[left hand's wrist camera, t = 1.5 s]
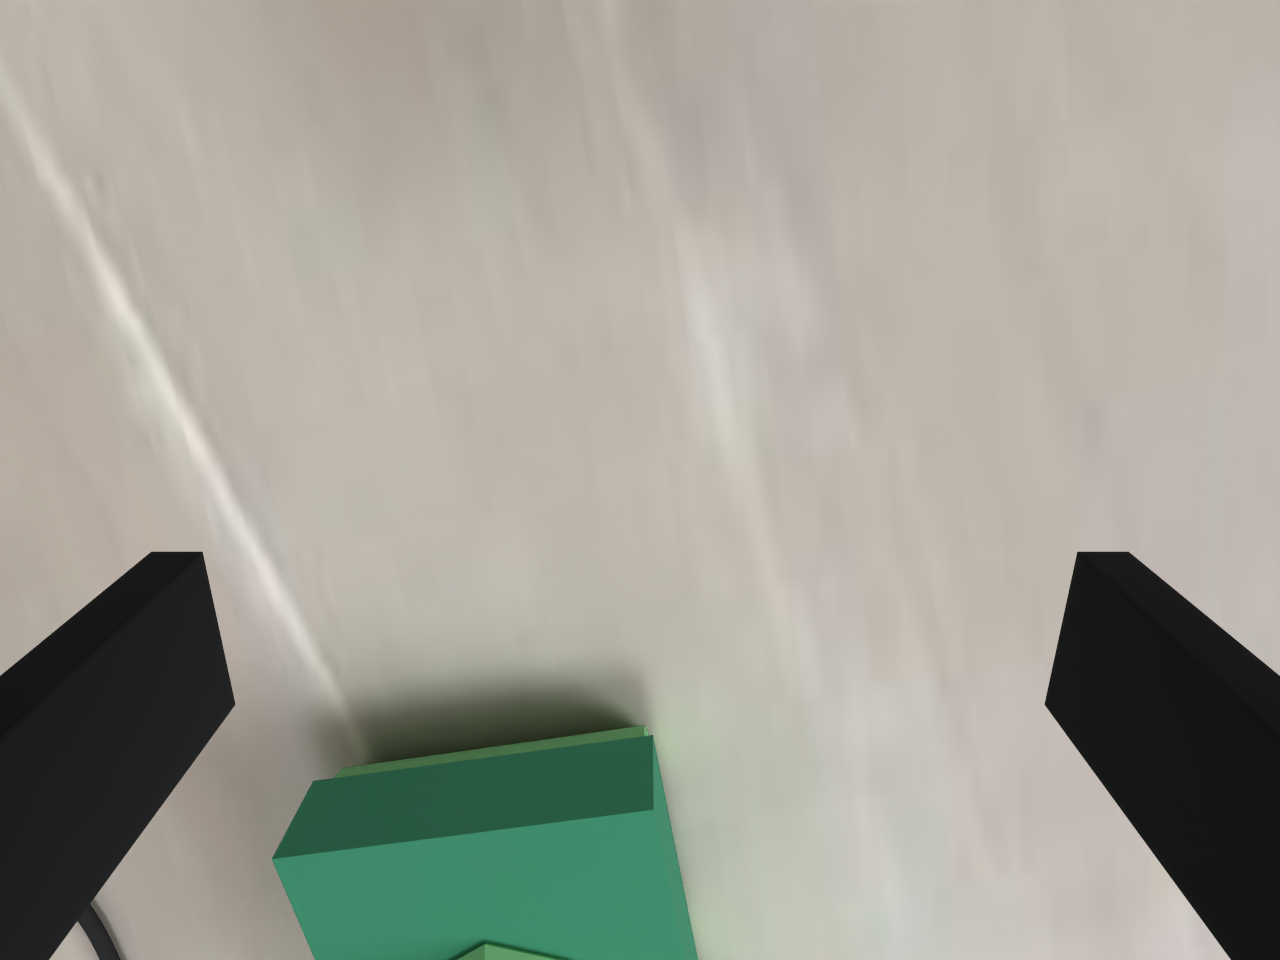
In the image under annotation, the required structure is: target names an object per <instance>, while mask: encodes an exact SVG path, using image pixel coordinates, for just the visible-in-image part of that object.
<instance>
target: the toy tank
mask: <svg viewBox="0 0 1280 960" xmlns="http://www.w3.org/2000/svg"><path fill="white" fill-rule="evenodd" d="M272 861H273V863H274V865H275V868H276V870H277V872H278V875H279V877H280V879H281V882H282V884H283V886H284V889H285V891H286V893H287V896H288V898H289V900H290V903H291V905H292V907H293V909H294V912H295V914H296V916H297V919H298V921H299V923H300V926H301V928H302V930H303V933H304V935H305V937H306V940H307V942H308V944H309V947H310V949H311V951H312V954H313V956H314V958H315V960H698V958H697V953H696V948H695V943H694V938H693V933H692V928H691V923H690V918H689V913H688V908H687V903H686V898H685V893H684V888H683V883H682V878H681V873H680V868H679V863H678V858H677V853H676V848H675V843H674V838H673V833H672V828H671V823H670V818H669V813H668V808H667V803H666V798H665V793H664V788H663V783H662V778H661V773H660V768H659V764H658V759H657V754H656V749H655V744H654V739H653V735H650V736H649V734H648V731H647V728H646V726H645V725H644V726H637V727H630V728H623V729H616V730H608V731H601V732H594V733H587V734H580V735H573V736H566V737H559V738H552V739H545V740H537V741H530V742H523V743H516V744H509V745H502V746H495V747H488V748H481V749H474V750H467V751H459V752H452V753H445V754H438V755H431V756H424V757H417V758H410V759H403V760H396V761H389V762H381V763H374V764H367V765H360V766H353V767H346V768H344V769H343V770H341V771H340V772H338V773H337V775H336V776H335V778H332V779H325V780H317V781H313V783H312V785H311V786H310V788H309V790H308V792H307V794H306V796H305V798H304V800H303V801H302V803H301V805H300V807H299V809H298V811H297V813H296V815H295V817H294V818H293V820H292V822H291V824H290V826H289V828H288V830H287V832H286V833H285V835H284V837H283V839H282V841H281V843H280V845H279V847H278V849H277V850H276V852H275V854H274V856H273V858H272Z"/></svg>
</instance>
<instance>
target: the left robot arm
mask: <svg viewBox="0 0 1280 960" xmlns="http://www.w3.org/2000/svg"><path fill="white" fill-rule="evenodd" d="M234 706H235V701H234V696H233V691H232V687H231V682H230V677H229V673H228V668H227V664H226V659H225V654H224V650H223V645H222V640H221V636H220V631H219V626H218V622H217V617H216V612H215V608H214V603H213V598H212V594H211V589H210V584H209V580H208V575H207V571H206V566H205V561H204V557H203V552H151V553H149V554H148V555H147V556H146V557H145V558H143V559H142V560H141V561H140V562H138V563H137V564H136V565H135V566H134V567H132V568H131V569H130V570H129V571H128V572H126V573H125V574H124V575H123V576H121V577H120V578H119V579H118V580H117V581H115V582H114V583H113V584H112V585H110V586H109V587H108V588H107V589H106V590H104V591H103V592H102V593H101V594H99V595H98V596H97V597H96V598H95V599H93V600H92V601H91V602H90V603H89V604H87V605H86V606H85V607H84V608H82V609H81V610H80V611H79V612H78V613H76V614H75V615H74V616H73V617H71V618H70V619H69V620H68V621H67V622H65V623H64V624H63V625H62V626H61V627H59V628H58V629H57V630H56V631H54V632H53V633H52V634H51V635H50V636H48V637H47V638H46V639H45V640H43V641H42V642H41V643H40V644H39V645H37V646H36V647H35V648H34V649H33V650H31V651H30V652H29V653H28V654H26V655H25V656H24V657H23V658H22V659H20V660H19V661H18V662H17V663H15V664H14V665H13V666H12V667H11V668H9V669H8V670H7V671H6V672H5V673H3V674H2V675H1V676H0V960H49V959H50V958H51V956H52V955H53V953H54V952H55V951H56V949H57V948H58V947H59V945H60V944H61V942H62V941H63V940H64V938H65V937H66V936H67V934H68V933H69V932H70V930H71V929H72V927H73V926H74V925H75V923H76V922H77V921H78V919H79V918H80V916H81V915H82V914H83V912H84V911H85V910H86V908H87V907H88V906H89V904H90V903H91V901H92V900H93V899H94V897H95V896H96V895H97V893H98V892H99V890H100V889H101V888H102V886H103V885H104V884H105V882H106V881H107V880H108V878H109V877H110V875H111V874H112V873H113V871H114V870H115V869H116V867H117V866H118V864H119V863H120V862H121V860H122V859H123V858H124V856H125V855H126V854H127V852H128V851H129V849H130V848H131V847H132V845H133V844H134V843H135V841H136V840H137V838H138V837H139V836H140V834H141V833H142V832H143V830H144V829H145V828H146V826H147V825H148V823H149V822H150V821H151V819H152V818H153V817H154V815H155V814H156V812H157V811H158V810H159V808H160V807H161V806H162V804H163V803H164V802H165V800H166V799H167V797H168V796H169V795H170V793H171V792H172V791H173V789H174V788H175V786H176V785H177V784H178V782H179V781H180V780H181V778H182V777H183V776H184V774H185V773H186V771H187V770H188V769H189V767H190V766H191V765H192V763H193V762H194V760H195V759H196V758H197V756H198V755H199V754H200V752H201V751H202V749H203V748H204V747H205V745H206V744H207V743H208V741H209V740H210V739H211V737H212V736H213V734H214V733H215V732H216V730H217V729H218V728H219V726H220V725H221V723H222V722H223V721H224V719H225V718H226V717H227V715H228V714H229V713H230V711H231V710H232V708H233V707H234ZM1045 706H1046V707H1047V708H1048V710H1049V711H1050V713H1051V714H1052V715H1053V717H1054V718H1055V719H1056V721H1057V722H1058V723H1059V725H1060V726H1061V728H1062V729H1063V730H1064V732H1065V733H1066V734H1067V736H1068V737H1069V739H1070V740H1071V741H1072V743H1073V744H1074V745H1075V747H1076V748H1077V749H1078V751H1079V752H1080V754H1081V755H1082V756H1083V758H1084V759H1085V760H1086V762H1087V763H1088V765H1089V766H1090V767H1091V769H1092V770H1093V771H1094V773H1095V774H1096V776H1097V777H1098V778H1099V780H1100V781H1101V782H1102V784H1103V785H1104V786H1105V788H1106V789H1107V791H1108V792H1109V793H1110V795H1111V796H1112V797H1113V799H1114V800H1115V802H1116V803H1117V804H1118V806H1119V807H1120V808H1121V810H1122V811H1123V812H1124V814H1125V815H1126V817H1127V818H1128V819H1129V821H1130V822H1131V823H1132V825H1133V826H1134V828H1135V829H1136V830H1137V832H1138V833H1139V834H1140V836H1141V837H1142V838H1143V840H1144V841H1145V843H1146V844H1147V845H1148V847H1149V848H1150V849H1151V851H1152V852H1153V854H1154V855H1155V856H1156V858H1157V859H1158V860H1159V862H1160V863H1161V864H1162V866H1163V867H1164V869H1165V870H1166V871H1167V873H1168V874H1169V875H1170V877H1171V878H1172V880H1173V881H1174V882H1175V884H1176V885H1177V886H1178V888H1179V889H1180V890H1181V892H1182V893H1183V895H1184V896H1185V897H1186V899H1187V900H1188V901H1189V903H1190V904H1191V906H1192V907H1193V908H1194V910H1195V911H1196V912H1197V914H1198V915H1199V916H1200V918H1201V919H1202V921H1203V922H1204V923H1205V925H1206V926H1207V927H1208V929H1209V930H1210V932H1211V933H1212V934H1213V936H1214V937H1215V938H1216V940H1217V941H1218V942H1219V944H1220V945H1221V947H1222V948H1223V949H1224V951H1225V952H1226V953H1227V955H1228V956H1229V958H1230V959H1231V960H1280V676H1279V675H1278V674H1277V673H1275V672H1274V671H1273V670H1272V669H1271V668H1269V667H1268V666H1267V665H1266V664H1265V663H1263V662H1262V661H1261V660H1260V659H1258V658H1257V657H1256V656H1255V655H1254V654H1252V653H1251V652H1250V651H1249V650H1247V649H1246V648H1245V647H1244V646H1243V645H1241V644H1240V643H1239V642H1238V641H1237V640H1235V639H1234V638H1233V637H1232V636H1230V635H1229V634H1228V633H1227V632H1226V631H1224V630H1223V629H1222V628H1221V627H1219V626H1218V625H1217V624H1216V623H1215V622H1213V621H1212V620H1211V619H1210V618H1209V617H1207V616H1206V615H1205V614H1204V613H1202V612H1201V611H1200V610H1199V609H1198V608H1196V607H1195V606H1194V605H1193V604H1191V603H1190V602H1189V601H1188V600H1187V599H1185V598H1184V597H1183V596H1182V595H1181V594H1179V593H1178V592H1177V591H1176V590H1174V589H1173V588H1172V587H1171V586H1170V585H1168V584H1167V583H1166V582H1165V581H1163V580H1162V579H1161V578H1160V577H1159V576H1157V575H1156V574H1155V573H1154V572H1152V571H1151V570H1150V569H1149V568H1148V567H1146V566H1145V565H1144V564H1143V563H1142V562H1140V561H1139V560H1138V559H1137V558H1135V557H1134V556H1133V555H1132V554H1131V553H1129V552H1077V557H1076V561H1075V566H1074V571H1073V575H1072V580H1071V584H1070V589H1069V594H1068V598H1067V603H1066V608H1065V612H1064V617H1063V622H1062V626H1061V631H1060V636H1059V640H1058V645H1057V650H1056V654H1055V659H1054V663H1053V668H1052V673H1051V677H1050V682H1049V687H1048V691H1047V696H1046V701H1045Z"/></svg>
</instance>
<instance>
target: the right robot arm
mask: <svg viewBox="0 0 1280 960" xmlns="http://www.w3.org/2000/svg"><path fill="white" fill-rule="evenodd" d="M78 922H79V923H80V925H81V926H82V928H83V929H84V931H85V933H86V934H87V936H88V938H89V939H90V941H91V943H92V945H93V947H94V949H95V951H96V953H97V955H98V957H99V959H100V960H120V957H119V955H118V953H117V951H116V949H115V947H114V945H113V942H112V940H111V938H110V936H109V934H108V933H107V931H106V929H105V927H104V925H103V924H102V922H101V920H100V919H99V917H98V915H97V914H96V912H95V911H94V909H93V908H92V906H91V905H90V904H89V906H88V907H87V908H86V910H85V911H84V912H83V914H82V915H81V916H80V918H79V919H78Z"/></svg>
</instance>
